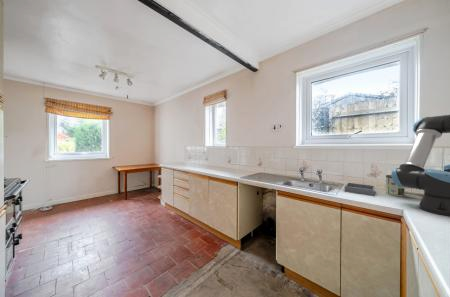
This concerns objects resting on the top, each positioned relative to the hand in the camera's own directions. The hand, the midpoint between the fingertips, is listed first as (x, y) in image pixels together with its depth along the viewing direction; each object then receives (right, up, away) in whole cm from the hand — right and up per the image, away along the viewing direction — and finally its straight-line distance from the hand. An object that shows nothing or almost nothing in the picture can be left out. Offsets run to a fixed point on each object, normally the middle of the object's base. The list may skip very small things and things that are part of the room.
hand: (396, 184), depth 127 cm
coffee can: (-1, -8, 0) cm, 8 cm away
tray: (-20, -8, +10) cm, 24 cm away
